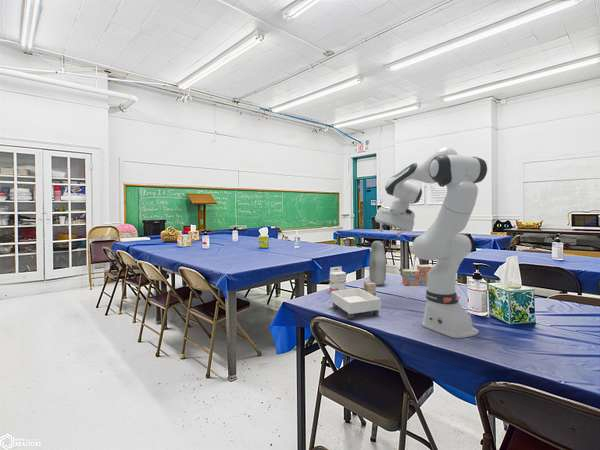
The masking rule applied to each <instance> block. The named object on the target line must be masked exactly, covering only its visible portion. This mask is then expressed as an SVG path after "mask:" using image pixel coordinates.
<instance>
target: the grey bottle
mask: <svg viewBox="0 0 600 450" xmlns="http://www.w3.org/2000/svg"><path fill="white" fill-rule="evenodd" d="M370 248H371V249H370V253H369V254H370V255H369V259H368V260H369V261H368V270H369V273H368V274H369V282H374V283H376V286H381V285H383V284H385V282H386V279H387V258H386V254H385V245H384V242H383V241H381V240H374V241H373V242H372V243H371V247H370Z"/></svg>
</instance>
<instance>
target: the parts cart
mask: <svg viewBox="0 0 600 450" xmlns="http://www.w3.org/2000/svg"><path fill="white" fill-rule="evenodd" d="M330 302H331V303H332V308H333V309H334V310H335V309H338V308H340V309H342V310H343V311H344V312H347V315H346V316H347V318H348V320H354V318H355V314H359V313H367V312H371V313H372V315H373V316H376V317H377V316H379V313H380V312H379V310H381V307H382V305H381V304H382V303H381V302H382V301H381V298H380V297H377V295H376V296H374V295H372V294H370V293H368V292H366V291H364V289H361V288H359V287H356V288H348V289H347V288H346V290H339V291H331V292H330Z"/></svg>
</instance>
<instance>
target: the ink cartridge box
mask: <svg viewBox="0 0 600 450" xmlns="http://www.w3.org/2000/svg"><path fill="white" fill-rule="evenodd" d="M342 268H343V266H342V265H341V266H334V267H330V268H329V293H331V291H339V290H347V272H345V271H343V269H342Z"/></svg>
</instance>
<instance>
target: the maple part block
mask: <svg viewBox="0 0 600 450" xmlns="http://www.w3.org/2000/svg"><path fill="white" fill-rule="evenodd" d="M363 290H364V291H366V292H368V293H370V294H372V295H374V296H376V297H377V285H376V283H374V282H371V281H364V282H363Z"/></svg>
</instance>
